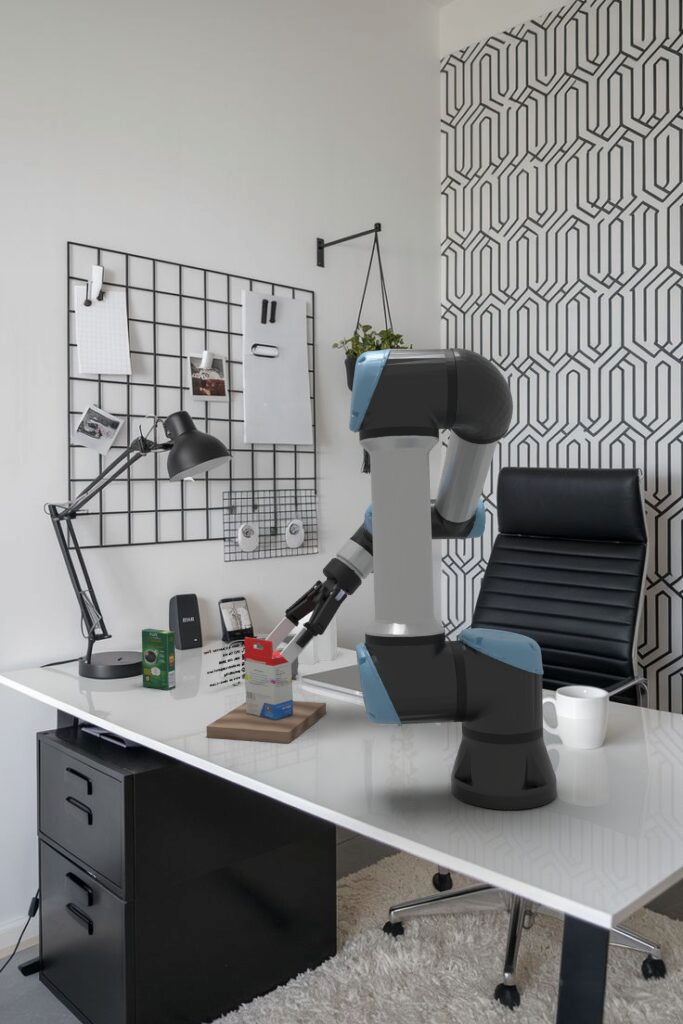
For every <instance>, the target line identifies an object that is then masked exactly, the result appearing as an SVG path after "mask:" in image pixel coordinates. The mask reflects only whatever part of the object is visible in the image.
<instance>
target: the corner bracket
mask: <svg viewBox="0 0 683 1024" xmlns="http://www.w3.org/2000/svg"><path fill="white" fill-rule="evenodd" d="M312 613H313V611H312V612H310V613H309V614H308V615H306V616H305V617H304V618H302V619H301V620H299V621H298V622H299V624H298V626H297V627H296V626H295V627H294V629H293V630H292V631H291V632H290V633H289V634H297V633H298V632H299V631H300V630H301V628H302V627H304V626H303V624H304V623H306V622H308V621H309V619H310V617H311V615H312ZM304 628H305V627H304ZM305 629H306V628H305ZM306 630H307V629H306ZM337 632H338V631H337V612H336V613H335V615H334V617H333V618H332V620H331V622H330V623H329V625H328V627H327V628H326V630H325V631H324V633H323V634H322V635H319V634H318V635H317V636H314V638H313V639H312V640H311V641H310V643H309V644H308V645H307V646H306V647H305V648H304V650H303V651H302V652H301V653H300V654H299V655H298V663H299V664H298V665H311V666H313V665H315V664H316V663H317V662H319V661H321V662H322V661H323V662H324V661H325V662H332V661H333V660H334V659H335V658H336V657H337V656H338V640H337V639H338V637H337V636H338V634H337Z"/></svg>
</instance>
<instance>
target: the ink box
mask: <svg viewBox="0 0 683 1024" xmlns="http://www.w3.org/2000/svg"><path fill="white" fill-rule="evenodd" d="M244 642H245V646H244V648H245V649H244V652H243V654H244V658H243V659H244V660H243V662H244V667H245V672H244V674H245V679H244V684H245V686H244V687H245V702H246V712H247V713H249V714H253V715H257V716H261V717H265V718H269V719H273V720H277V719H280V718H284V717H287V716H290V715H293V701H294V698H293V694H294V693H293V677H292V671H291V664H290V663H289V662H288V661H287V660H286V659H285V658H284V657H283V656H281V655H280V653H281V652H277V651H273V642H272V641H268V640H262V639H257V637H256V638H255V637H248V636H245V637H244ZM258 643H259V644H260V645H263V647H264V648H263V649H259V648H257V647H255V645H257V644H258Z"/></svg>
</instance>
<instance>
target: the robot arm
mask: <svg viewBox="0 0 683 1024" xmlns="http://www.w3.org/2000/svg"><path fill="white" fill-rule="evenodd" d="M513 400H514V399H513V395H512V392H511V389H510V386H509V384H508V382H507V380H506V378H505V377H504V375H503V374H502V372H501V371H500V369H499V368H498V367H497V366H496V365H495V364H494V363H493V362H492V361H491V360H489V359H488V358H486V357H485V356H484V355H482V354H480V353H478V352H475V351H473V350H471V349H466V348H457V347H454V348H452V347H450V348H386V349H381V350H371V351H370V350H368V351H364V352H362V353H361V354H360V355H359V356H358V357H357V359H356V362H355V367H354V375H353V383H352V391H351V399H350V409H349V410H350V411H349V422H348V424H349V426H348V427H349V429H348V430H349V431H351V432H353V433H359V435H358V436H359V438H358V440H359V445H360V446H361V447H362V448H363V449H364V450H365V452H367V453H368V455H369V460H370V461H369V462H370V491H371V493H370V494H371V503H369V505H368V506H367V508H366V511H365V513H364V519H363V522H362V524H361V525H360V526H359V527H358V528H357V530H356V531H355V532H354V533H353V534H352V536H351V537H349V539H348V540H346V541H345V543H344V544H343V546H341V547H340V549H339V550H338V551H337V552H336V557H333V558H332V559H330V561H329V562H328V563H327V564H326V565H325V566H324V568H323V569H322V573H323V575H324V576H325V577H326V580H324V581H323V582H322V581H321V580H320V579H319V580H317V581H316V582H315V584H313V586H312V587H311V588H309V589H308V590H307V591H306V592H305V593H304V594H303V595H301V596H300V597H299V598H298V599H297V600H296V601H295V602H294V603H293V604H292V605H290V606H289V607H288V608H287V609H285V612H284V613H285V616H284V617H283V619H282V620H281V621H280V622H279V623H278V624H277V625H276V626H275V627H274V628H273V630H272V631H271V632H270V634H269V635H267V636H268V637H267V638H266V639H265V640H268V641H272V642H273V651H275V649H276V648H277V647H278V646H279V645H280V644H281V642H282V641H283V640H284V639H285V638H286V637H287V635H288V634H289V633H290V632H291V631H292V630H293V629H294V627H295V626H296V627H297V626H298V624H299V622H298V621H299V620H301V619H302V618H304V617H305V616H306V615H308V614H309V613H310V612H313V613H312V615H311V617H310V619H309V621H308V622H306V623H304V624H303V626H304V627H305V628H306V629H307V630H306V629H305V628H304V627H302V628H301V630H300V631H299V632H298V633H297V634H296V635H295V637H294V638H293V639H292V640H291V641H290V642H289V644H288V645H287V646H286V647H285V648H284V649H283V651H282V652H281V653H280V655H281V656H283V657H284V658H285V659H286V660H287V661H288V662H289V663H290V664H292V662H293V661H294V660H295V659H296V658H297V657H298V655H299V654H300V653H301V652H302V651H303V650H304V648H305V647H306V646H307V645H308V644H309V643H310V641H311V640H312V639H313V638H314V636H317V635H318V634H319V635H322V634H323V633H324V631H325V630H326V628H327V627H328V625H329V623H330V622H331V620H332V618H333V617H334V615H335V613H336V614H337V612H338V610H339V608H340V607H341V605H342V604H343V602H344V601H345V600H346V599H347V598H348V596H352V595H353V594H354V593H356V592H357V590H358V588H359V587H360V586H361V585H362V579H363V580H366V579H367V578H368V577H369V575H371V574H373V585H374V586H373V592H374V594H373V595H374V620H373V621H372V622H371V623H370V625H368V626H367V628H366V629H365V630H364V634H365V635H364V636H365V637H364V638H365V642H362V641H361V642H360V643H358V644H356V646H355V652H356V660H357V661H356V662H357V668H358V675H359V682H360V688H361V693H362V698H363V703H364V709H365V713H366V716H367V718H368V719H369V720H370V721H371V722H372V723H373V724H376V725H397V726H399V727H402V726H403V725H419V724H421V725H423V724H446V723H447V724H448V723H461V740H460V744H459V745H458V746H459V747H458V750H457V754H456V756H455V760H454V762H453V766H452V770H451V774H450V786H451V787H450V790H451V792H452V794H453V796H454V797H456V798H457V799H459V800H460V801H463V802H464V803H467V804H470V805H472V806H476V807H477V806H478V807H480V808H481V807H482V808H485V809H486V808H487V809H492V810H493V809H494V810H507V811H508V810H510V811H511V810H512V811H513V810H524V809H532V808H537V807H541V806H544V805H546V804H548V803H550V802H551V801H553V800H554V799H555V798H556V796H557V793H558V792H557V791H558V790H557V777H556V776H557V775H556V773H555V769H554V767H553V764H552V762H551V759H550V755H549V753H548V749H547V747H546V744H545V740H544V712H543V711H544V706H543V705H544V704H543V700H544V699H543V698H544V697H543V675H544V669H543V661H542V660H543V658H542V651H541V647H540V645H539V644H538V643H537V642H538V641H536V640H535V639H533V638H531V637H529V636H528V635H527V636H526V635H523V634H520V633H516V632H513V631H506V630H502V629H501V630H499V629H491V628H483V627H482V628H481V627H478V628H477V627H476V628H475V627H474V628H464V629H462V630H461V631H460V632H459V635H458V639H459V640H446V629H445V627H444V626H443V625H442V624H441V623H440V622H439V621H438V620H437V619H436V617H435V606H434V605H435V602H434V599H435V598H434V597H435V596H434V573H433V571H434V567H433V566H434V565H433V541H432V540H468V539H474V538H475V539H477V538H480V537H482V536H483V535H484V534H485V530H486V520H487V519H486V507H485V503H484V501H483V500H482V499H481V496H482V492H483V489H484V486H485V482H486V480H487V476H488V473H489V470H490V467H491V463H492V460H493V458H494V455H495V451H496V449H497V445H498V442H499V441H500V440H502V439H503V438H504V437H505V436H506V434H507V433H508V431H509V428H510V427H511V426H510V425H511V422H512V420H513V414H514V403H513V402H514V401H513ZM440 430H450V434H449V439H448V443H447V448H446V452H445V458H444V462H443V467H442V471H441V475H440V479H439V482H438V483H439V484H438V488H437V492H436V493H437V494H436V498H435V499H433V498H432V499H431V478H430V453H431V451H432V450H433V448H435V446H437V444H438V443H439V442H440Z"/></svg>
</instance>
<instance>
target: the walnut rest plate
mask: <svg viewBox="0 0 683 1024" xmlns="http://www.w3.org/2000/svg"><path fill="white" fill-rule="evenodd" d="M326 713H327V703H326V702H317V701H316V702H315V701H299V700H298V701H297V700H293V715H290V716H287V717H284V718H280V719H277V720H273V719H269V718H265V717H261V716H257V715H253V714H249V713H247V712H246V701H245V702H244V703H242V704H240V705H239V706H237V707H235V708H234V709H232V710H230V711H229V712H227V713H226V714H224V715H223V716H220V717H219V718H217V719H216V720H214V721H213V722H211V723H209V724H207V726H206V738H211V739H212V738H213V739H223V740H225V739H226V740H228V739H229V740H236V739H239V740H240V739H241V741H250V740H254V742H263V741H267V742H266V743H276V742H281V743H280V744H290V743H291V741H292V740H293V741H294V740H295V739H296V738H298V737H300V736H301V734H302V733H304V732H305V731H307V730H308V728H310V727H311V726H312V725H314V724H315V723H316V722H317V721H318V720H320V719H321V718H322V717H323V716H324V715H326ZM268 741H269V742H268ZM293 741H292V742H293Z"/></svg>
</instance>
